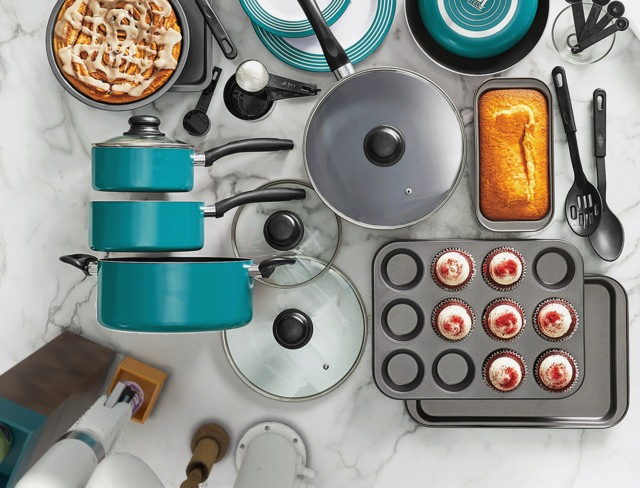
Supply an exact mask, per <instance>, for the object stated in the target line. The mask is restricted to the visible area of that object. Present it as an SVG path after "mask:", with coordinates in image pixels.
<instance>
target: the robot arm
mask: <svg viewBox="0 0 640 488" xmlns="http://www.w3.org/2000/svg"><path fill="white" fill-rule="evenodd" d="M135 394H136V392H135V391H133V390H131V387H129V386H127V385H126V383H124V382H122V381H119V382H118V383H117V385H116V387H115V388H114V390H113V391H112V393H111V394H110V395H109V397H108V396H107V394H106V393H105V394H102V395H101V396H100V397H99V398H97V400H96V402H95V403H94V404H93V405H92V406H91V407H90V408H89V409H88V410H87V411H86V412H85V413H84V415H83V416H82V417H81V418H80V419H79V422H78V423H77V424H76V427H74V428H71V429H69V430H68V431H67V432H66V433H64V434H63V435H62V436H61V437H60V438H59V439H58V440H57V441H56V442H55V443H54V444H53V445H52V446H51V447H50V448H49V449H48V451H47V452H46V453H45V454H44V455H43V456H42V457H41V458H40V459H39V460H38V461H37V462H36V463H35V464H34V465H33V466H32V467H31V469H30V470H29V471H28V472H27V473H26V474H25V475H24V476H23V477H22V478H21V479H20V480H19V482H18V483H17V484H16V486H15V487H14V488H166V486H165V485H164V483H163V482H162V480H161V479H160V478H159V476H158V475H157V474H156V473H155V471H154V470H153V469H152V468H151V466H150V465H149V464H148V463H147V462H146V461H144V460H143V459H141V458H140V457H139V456H137V455H135V454H133V453H130V452H126V451H118V452H113V451H114V449H115V447H116V445H117V442H118V440H119V438H120V436H121V433H122V431H123V429H124V426H125V425H126V424H125V422H126V419H127V417H128V415H129V412H130V404H129V402H130V401H131V400H132V399H133V397H134V396H135ZM117 402H119V403H117ZM124 424H125V425H124ZM306 463H307V451H306V446H305V444H304V441H303V439H302V438H301V436H300V435H299V433H297V431H296V430H294V429H293V428H292V427H290V426H289V425H286V424H285V423H281V422H277V421H265V422H261V423H257V424H255V425H253V426H252V427H250V428H248V430H246V431H245V433H244V434H243V435H242V436H241V438H240V440H239V442H238V443H237V447H236V452H235V465H236V469H237V474H236V477H235V480H234V483H233V485H232V488H317V487H318V485H317V484H314V483H312V482H310V481H306V480H304V479H302V476H305V477H306V478H308V479H311V480H314V478H315V476H316V470H314V469H312V468H308V467H307V466H306Z"/></svg>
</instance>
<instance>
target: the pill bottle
mask: <svg viewBox="0 0 640 488" xmlns="http://www.w3.org/2000/svg"><path fill="white" fill-rule="evenodd" d="M124 383H126V385H127V386H129V387H131V390H133V391H135V392H136V394H135V396H134V397H133V399H132V400H131V401H130V402H129V404H130V412H129V415H128V417H127V419H126V422H125V424H124V426H125V425H126V424H128V423H129V421H130V420H131V418H132V416H133V415H134V414H135V413H136V411H137V410H138V409H139V407H140V406H141V404H142V402H143V398H144V395H143V391H142V389H141V388H140V386H139V385H138V384H136V383H134V382H130V381H127V382H124ZM111 393H112V392H111ZM111 393H110V394H111ZM110 394H109V395H110ZM109 395H108V397H109ZM117 403H119V402H117Z"/></svg>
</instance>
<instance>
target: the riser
mask: <svg viewBox="0 0 640 488" xmlns="http://www.w3.org/2000/svg"><path fill="white" fill-rule="evenodd" d="M117 353H118V351H116V350H113V349H111V348H110V347H107V346H105V345H102V344H100V343H98V342H95V341H94V340H91V339H89V338H86V337H85V336H82V335H79V334H78V333H75V332H73V331H70V330H68V329H66V330H64V331H63V332H61V333H60V334H58V335H57V336H55V337H53V339H51V340H49V341H48V342H46V343H45V344H44V345H41V347H39V348H38V349H36V350H35V351H34V352H32V353H30V354H28V356H26V357H25V358H23V359H22V360H20V361H19V362H17V363H16V364H15V365H13V366H12V367H10V368H9V369H7V370H6V371H4V372H3V373H2V374H0V397H3V398H5V399H7V400H9V401H12V402H14V403H16V404H19V405H21V406H23V407H25V408H28V409H30V410H32V411H34V412H37V413H39V414H41V415H43V416H46V417H48V420H47V422H46V425H45V427H44V429H43V432H42V434H41V436H40V439H39V441H38V443H37V446H36V448H35V450H34V453H33V455H32V457H31V460H30V462H29V464H28V467H27V469H26V471H25V474H26V473H27V472H28V471H29V470H30V469H31V467H32V466H33V465H34V464H35V463H36V462H37V461H38V460H39V459H40V458H41V457H42V456H43V455H44V454H45V453H46V452H47V451H48V449H49V448H50V447H51V446H52V445H53V444H54V443H55V442H56V441H57V440H58V439H59V438H60V437H61V436H62V435H63V434H64V433H66V432H67V431H69V430H71V429H72V427H73V426H74V425H75V424H76V423H77V422H78V421H80V420H81V419H82V418H83V417H84V415H85V414H86V413H87V412H88V411H89V409H90V408H91V407H92V406H93V405H94V403H95V402H96V401H97V400H98V399H99V398H98V397H99V395H100V393H101V391H102V388H103V386H104V383H105V382H106V379H107V377H108V373H110V372H109V371H110V369H111V367H112V365H113V363H114V360H115V357H116V355H117ZM25 474H24V475H25Z"/></svg>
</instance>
